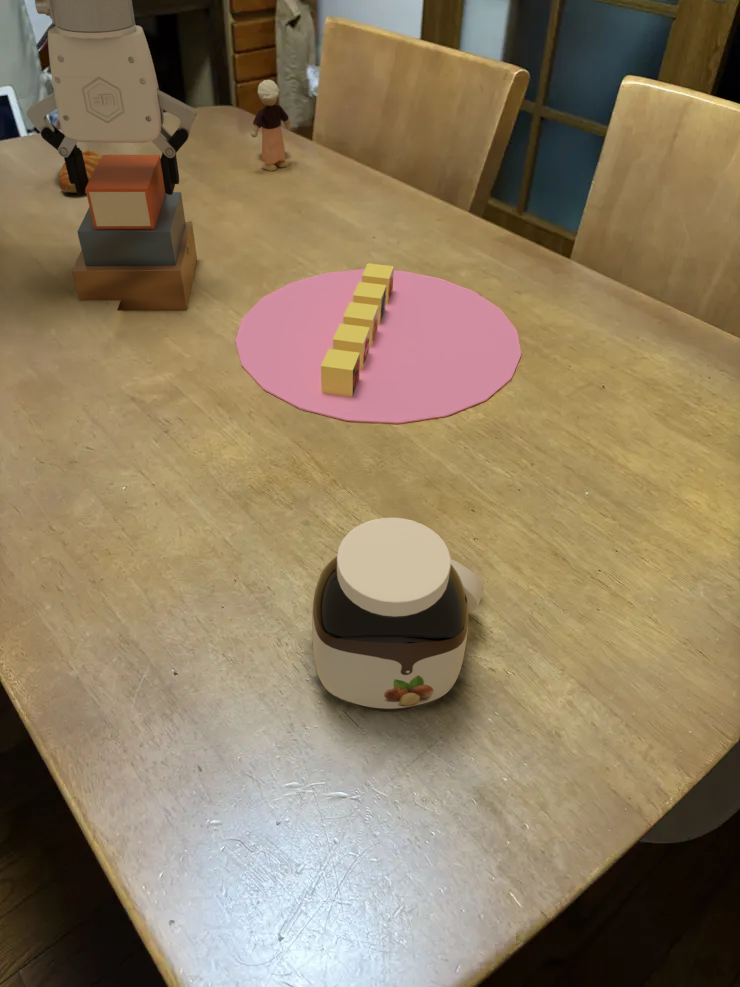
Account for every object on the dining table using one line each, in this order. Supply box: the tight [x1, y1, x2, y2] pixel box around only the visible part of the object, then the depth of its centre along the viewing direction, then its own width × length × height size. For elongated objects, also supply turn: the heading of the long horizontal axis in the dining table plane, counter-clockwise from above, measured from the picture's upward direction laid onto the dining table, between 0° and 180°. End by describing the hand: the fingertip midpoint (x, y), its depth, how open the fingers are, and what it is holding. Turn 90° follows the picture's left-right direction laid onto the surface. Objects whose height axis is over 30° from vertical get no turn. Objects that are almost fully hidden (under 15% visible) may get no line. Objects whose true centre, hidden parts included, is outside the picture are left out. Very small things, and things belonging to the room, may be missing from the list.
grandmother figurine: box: [250, 79, 293, 172], centre depth 117 cm, size 8×4×13 cm, turn 145°
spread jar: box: [311, 517, 485, 714], centre depth 50 cm, size 12×11×12 cm
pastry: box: [58, 149, 103, 194], centre depth 113 cm, size 9×7×4 cm
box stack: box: [71, 191, 198, 311], centre depth 89 cm, size 12×13×9 cm
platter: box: [234, 262, 522, 425], centre depth 84 cm, size 32×32×3 cm
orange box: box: [85, 154, 166, 229], centre depth 85 cm, size 6×10×4 cm, turn 4°
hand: (127, 190), depth 85 cm, fingers open, 9 cm apart
